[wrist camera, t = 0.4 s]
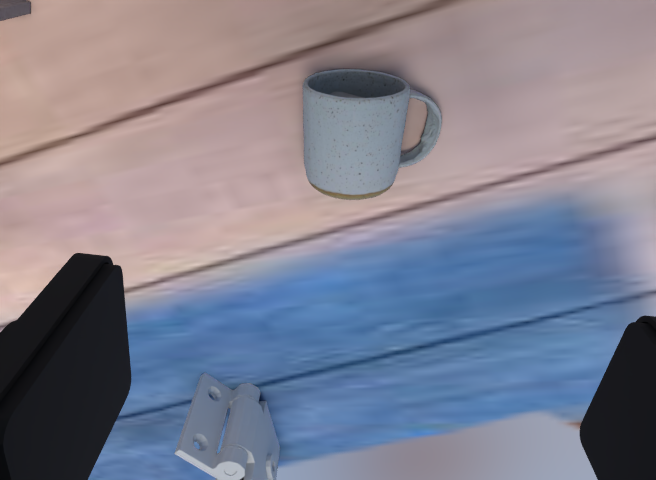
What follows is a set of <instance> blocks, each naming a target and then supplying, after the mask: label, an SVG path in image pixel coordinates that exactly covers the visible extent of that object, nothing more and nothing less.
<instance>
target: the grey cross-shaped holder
mask: <svg viewBox="0 0 656 480" xmlns="http://www.w3.org/2000/svg"><path fill="white" fill-rule="evenodd" d="M30 13H31V3H30V2H28V1H24V0H0V21H2V20H6V19H10V18H14V17H18V16H22V15H26V14H30Z"/></svg>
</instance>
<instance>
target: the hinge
mask: <svg viewBox="0 0 656 480" xmlns="http://www.w3.org/2000/svg"><path fill="white" fill-rule="evenodd" d="M209 394H211V395H212V396H213V397H214V400H212V399H211V398H210V397H209ZM260 394H261V393H260V390H259V389H258V387H256V386H255V385H252V384H250V383H246V384H240V385H239V386H238V387H237V388H236V389H235V390H231V389H230V388H228V387H227V386H225V385H224V384H222V383H221V382H219V381H218V380H216V379H214V378H213V377H211V376H210V375H208V374H207V373H205V372H204V373H203V374H202V375H201V376H200V379H199V382H198V385H197V388H196V391H195V394H194V397H193V400H192V403H191V406H190V409H189V412H188V415H187V418H186V421H185V424H184V427H183V430H182V433H181V436H180V439H179V442H178V445H177V448H176V451H175V454H176V455H178V456H179V457H181V458H183V459H184V460H186V461H188V462H189V463H191V464H193V465H195V466H196V467H198V468H200V469H201V470H203V471H205V472H206V473H208V474H210V475H211V476H213V477H215V478H216V480H276V475H277V468H278V460H279V453H280V446H279V442H278V439H277V436H276V432H275V429H274V426H273V422H272V419H271V416H270V412H269V409H268V406H267V402H266V401H259V398H260ZM228 408H229V409H231V410H230V414H229V418H228V422H227V427H226V431H225V435H224V439H223V443H222V447H221V451H220V453H218V454H217V449H218V445H219V441H220V437H221V433H222V429H223V425H224V421H225V418H226V414H227V410H228ZM194 441H195V442H197V443H198V444H199V446H200V449H197V448H195V446H194Z"/></svg>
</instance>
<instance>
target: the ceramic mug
mask: <svg viewBox="0 0 656 480" xmlns="http://www.w3.org/2000/svg"><path fill="white" fill-rule="evenodd" d="M409 98H416V99H418V100H421V101H423V102H425V103H426V105H427V111H428V117H427V121H426V126H425V130H424V133H423V135H422V137H421V142H420V144H419V145H418V146H417V147H416V148H414V149H413V150H412V151H410V152H408V153H406V154H404V155H401V145H402V138H403V133H404V127H405V121H406V114H407V108H408V102H409ZM441 123H442V117H441V112H440V110H439V108H438V106H437V105H436V104H435V103H434V102H433V100H432V99H430V98H429V97H427V96H425V95H424V94H422V93H420V92H417V91H415V90H411V89H410V86H409V84H408V83H407V82H406V81H404V80H403V79H401V78H399V77H396V76H393V75H391V74H386V73H382V72H378V71H367V70H360V69H341V70H339V69H337V70H329V71H323V72H318V73H315V74H313V75H311V76H309V77H308V78H306V79H305V81H304V83H303V128H304V164H305V169H306V175H307V178H308V181H309V183H310V184H311V185H312V186H313V187H314V188H315V189H316V190H318V191H319V192H321V193H323V194H325V195H328V196H331V197H334V198H339V199H346V200H360V199H367V198H372V197H376V196H378V195H380V194H382V193H384V192H385V191H387V190H388V189H389V188H390V187H391V186H392V184H393V182H394V180H395V177H396V174H397V171H398V167H407V166H409V165H413V164H415V163H417V162H419V161H421V160H422V159H424V158H425V157H426V156H427V155H428V154H429V153H430V151H431V150H432V149H433V148H434V146H435V144H436V142H437V139H438V137H439V134H440V130H441ZM400 155H401V156H400Z"/></svg>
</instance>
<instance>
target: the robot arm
mask: <svg viewBox="0 0 656 480" xmlns="http://www.w3.org/2000/svg"><path fill="white" fill-rule="evenodd" d="M130 385H131V368H130V356H129V344H128V332H127V321H126V309H125V297H124V285H123V274H122V269H121V267H120V266H119V265H113V262H112V260H111V258H110V257H109V256H101V255H92V254H83V253H75V254H74V255H73V256H72V257H71V258H70V259H69V260H68V262H67V263H66V264H65V265H64V266H63V267H62V268H61V270H60V271H59V272H58V273H57V274H56V275H55V277H54V278H53V279H52V280H51V281H50V282H49V284H48V285H47V286H46V287H45V288H44V289H43V291H42V292H41V293H40V294H39V295H38V296H37V298H36V299H35V300H34V301H33V302H32V303H31V304H30V306H29V307H28V308H27V309H26V310H25V311H24V313H23V314H22V315H21V316H20V317H19V318H18V320H16V321H13V322H11V323H10V324H8V325H7V326H6V327H5V328H4V329H3V330H2V331H1V333H0V480H88V478H89V475H90V473H91V471H92V469H93V467H94V465H95V463H96V461H97V459H98V457H99V455H100V453H101V450H102V448H103V446H104V444H105V442H106V440H107V438H108V436H109V434H110V432H111V430H112V428H113V425H114V423H115V421H116V419H117V417H118V415H119V413H120V411H121V409H122V407H123V405H124V402H125V400H126V398H127V396H128V393H129V390H130ZM580 440H581V443H582V446H583V448H584V450H585V452H586V455H587V457H588V459H589V461H590V463H591V465H592V468H593V470H594V472H595V474H596V477H597V479H598V480H656V317H653V316H642V317H640V318H639V319H638V320H637V321H636V322H633V323H630V324H629V325H628V326H627V328H626V329H625V331H624V334H623V336H622V338H621V340H620V342H619V344H618V346H617V348H616V351H615V353H614V355H613V357H612V359H611V361H610V363H609V365H608V368H607V370H606V372H605V374H604V376H603V378H602V380H601V382H600V385H599V387H598V389H597V391H596V393H595V395H594V397H593V399H592V402H591V404H590V406H589V408H588V410H587V412H586V414H585V416H584V419H583V421H582V423H581V426H580Z"/></svg>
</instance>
